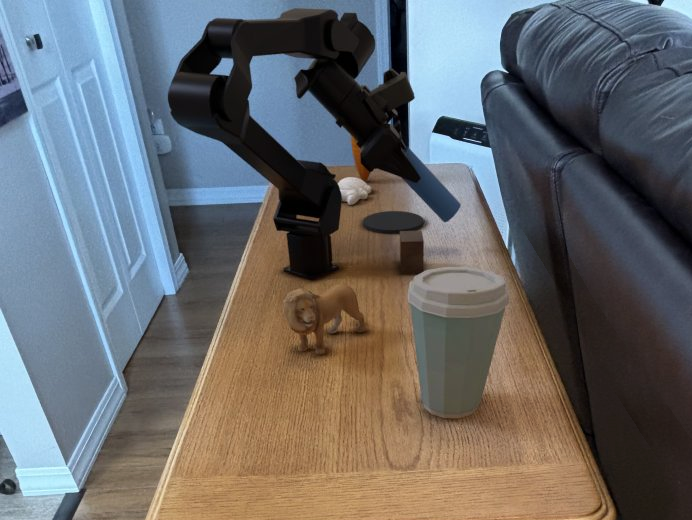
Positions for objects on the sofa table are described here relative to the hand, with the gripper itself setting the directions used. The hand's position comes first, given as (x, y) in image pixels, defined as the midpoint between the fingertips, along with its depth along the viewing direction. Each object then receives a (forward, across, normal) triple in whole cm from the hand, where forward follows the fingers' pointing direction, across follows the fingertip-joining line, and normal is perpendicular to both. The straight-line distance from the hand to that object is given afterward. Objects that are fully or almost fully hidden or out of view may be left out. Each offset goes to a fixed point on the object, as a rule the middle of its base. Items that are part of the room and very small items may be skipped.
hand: (418, 176), depth 116 cm
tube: (+2, 0, 0) cm, 2 cm away
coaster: (+6, +15, +11) cm, 19 cm away
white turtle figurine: (-1, +32, +18) cm, 37 cm away
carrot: (+2, +43, +16) cm, 45 cm away
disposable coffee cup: (+9, -51, +6) cm, 52 cm away
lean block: (+7, -8, +9) cm, 14 cm away
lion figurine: (-1, -34, +17) cm, 39 cm away
